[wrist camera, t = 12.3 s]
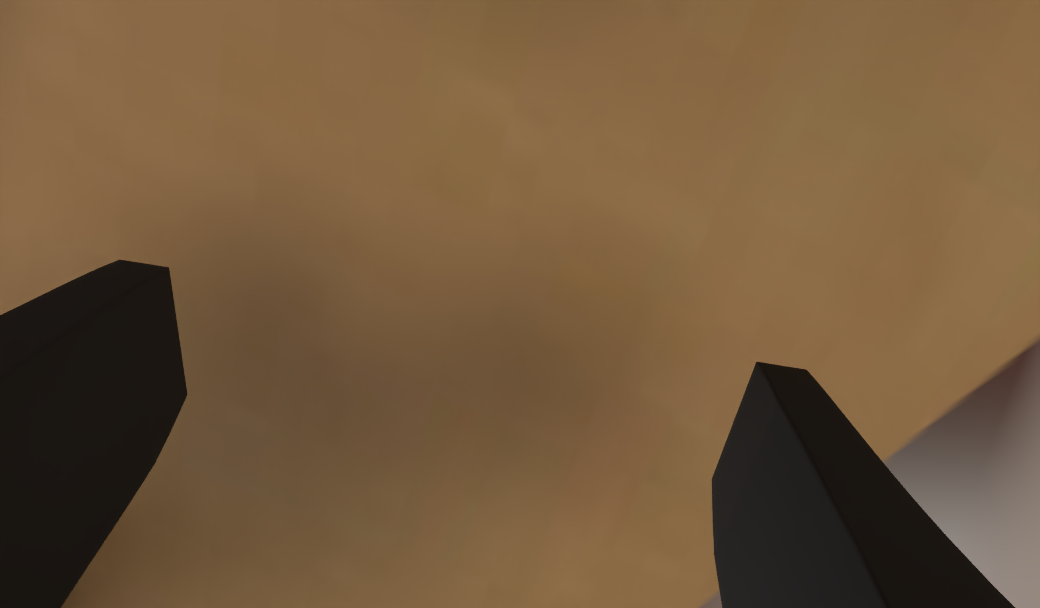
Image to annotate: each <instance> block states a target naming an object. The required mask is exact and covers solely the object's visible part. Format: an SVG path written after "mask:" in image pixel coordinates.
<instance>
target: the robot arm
mask: <svg viewBox="0 0 1040 608" xmlns="http://www.w3.org/2000/svg"><path fill="white" fill-rule="evenodd" d="M186 396H187V389H186V382H185V375H184V368H183V361H182V354H181V347H180V341H179V334H178V327H177V320H176V313H175V306H174V299H173V292H172V285H171V278H170V271H169V267H162V266H156V265H150V264H144V263H137V262H131V261H125V260H118V261H115V262H113V263H110V264H108V265H105V266H103V267H101V268H98V269H96V270H94V271H91V272H89V273H87V274H85V275H83V276H81V277H78V278H76V279H74V280H72V281H70V282H68V283H66V284H64V285H62V286H60V287H58V288H56V289H53V290H51V291H49V292H47V293H45V294H43V295H41V296H39V297H37V298H35V299H33V300H31V301H29V302H27V303H25V304H23V305H21V306H19V307H17V308H15V309H12V310H10V311H8V312H6V313H4V314H2V315H0V608H61V606H62V605H63V603H64V602H65V600H66V599H67V597H68V596H69V594H70V593H71V591H72V590H73V588H74V587H75V585H76V584H77V582H78V580H79V579H80V577H81V576H82V574H83V573H84V571H85V570H86V568H87V567H88V565H89V564H90V562H91V561H92V559H93V558H94V556H95V555H96V553H97V552H98V550H99V549H100V547H101V546H102V544H103V543H104V541H105V540H106V538H107V537H108V535H109V534H110V532H111V531H112V529H113V528H114V526H115V525H116V523H117V522H118V520H119V518H120V517H121V515H122V514H123V512H124V511H125V509H126V508H127V506H128V505H129V503H130V502H131V500H132V498H133V497H134V495H135V494H136V492H137V491H138V489H139V488H140V486H141V485H142V483H143V481H144V480H145V478H146V477H147V475H148V474H149V472H150V470H151V469H152V467H153V466H154V464H155V462H156V460H157V458H158V456H159V454H160V452H161V450H162V448H163V446H164V444H165V442H166V440H167V438H168V436H169V434H170V432H171V429H172V427H173V425H174V423H175V421H176V418H177V416H178V414H179V412H180V410H181V407H182V405H183V403H184V401H185V399H186ZM712 509H713V537H714V556H715V563H716V569H717V576H718V582H719V589H720V595H721V601H722V608H1015V607H1014V606H1013V605H1012V604H1011V603H1010V602H1009V601H1008V600H1007V599H1006V598H1005V597H1004V596H1003V595H1002V594H1001V593H1000V592H999V591H998V590H997V589H996V588H995V587H994V586H993V585H992V584H991V583H990V582H989V581H988V580H987V579H986V578H985V577H984V576H983V574H982V573H981V572H980V571H979V570H978V569H977V568H976V567H975V566H974V565H973V564H972V563H971V562H970V561H969V560H968V558H967V557H966V556H965V555H964V554H963V553H962V552H961V551H960V550H959V549H958V548H957V547H956V546H955V545H954V544H953V543H952V541H951V540H950V539H949V538H948V537H947V536H946V535H945V534H944V533H943V532H942V531H941V529H940V528H939V527H938V526H937V525H936V524H935V523H934V522H933V520H932V519H931V518H930V517H929V516H928V515H927V514H926V513H925V512H924V510H923V509H922V508H921V507H920V506H919V505H918V504H917V502H916V501H915V500H914V499H913V498H912V497H911V495H910V494H909V493H908V492H907V491H906V489H905V488H904V487H903V486H902V485H901V484H900V482H899V481H898V480H897V479H896V478H895V477H894V475H893V474H892V473H891V472H890V471H889V469H888V468H887V467H886V466H885V464H884V463H883V462H882V461H881V460H880V458H879V457H878V456H877V455H876V454H875V452H874V451H873V450H872V449H871V447H870V446H869V445H868V444H867V442H866V441H865V440H864V439H863V438H862V436H861V435H860V434H859V433H858V431H857V430H856V429H855V428H854V426H853V425H852V424H851V423H850V421H849V420H848V419H847V418H846V417H845V415H844V414H843V413H842V412H841V410H840V409H839V408H838V407H837V405H836V404H835V403H834V402H833V400H832V399H831V398H830V397H829V395H828V394H827V393H826V392H825V391H824V389H823V388H822V387H821V386H820V385H819V383H818V382H817V381H816V380H815V379H814V378H813V376H812V375H811V374H810V373H809V372H808V371H807V370H805V369H799V368H792V367H786V366H780V365H774V364H767V363H761V362H756V365H755V367H754V370H753V372H752V375H751V378H750V380H749V383H748V386H747V388H746V391H745V393H744V396H743V399H742V401H741V404H740V407H739V409H738V412H737V414H736V417H735V420H734V422H733V425H732V428H731V430H730V433H729V435H728V438H727V441H726V443H725V446H724V449H723V451H722V454H721V456H720V459H719V462H718V464H717V467H716V470H715V472H714V475H713V478H712Z"/></svg>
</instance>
